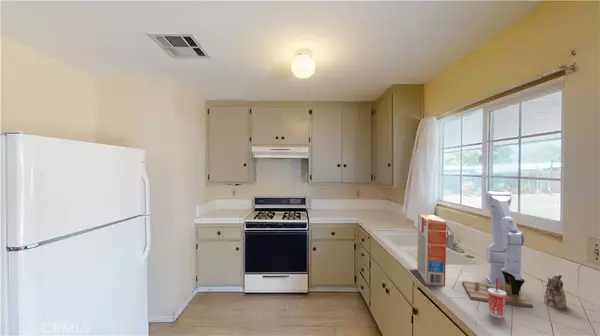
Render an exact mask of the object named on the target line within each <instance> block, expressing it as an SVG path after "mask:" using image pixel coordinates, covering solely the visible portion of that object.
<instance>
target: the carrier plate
mask: <svg viewBox="0 0 600 336" xmlns="http://www.w3.org/2000/svg"><path fill="white" fill-rule="evenodd" d="M461 282H462V285H463V287H464V290H465V291H466V293H467V294H468V296H469V298H470V299H471V301H472V300H473V301H480V302H488V303H489V297H488V291H487V289H489V288H495V289H496V285H495V284H491V283H486V282H485V283H484V282H479V281H467V280H462V281H461ZM498 289H500V290H503V291H504V285H498ZM505 305H512V306H520V307H526V308H527V307H528V308H533V307H534V304H533V303H532V302H531V301H530V300H529V298H528V297H526V296H525V295H524V294H523V293H522V292H521V295H520V296H512V295H508V294H506V296H505Z"/></svg>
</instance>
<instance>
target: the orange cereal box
mask: <svg viewBox="0 0 600 336" xmlns="http://www.w3.org/2000/svg"><path fill="white" fill-rule="evenodd" d="M446 248H447V221H445V220H444V219H442V218H441V217H439V216H437V215H435V214H419V213H418V215H417V258H416V259H417V263H416V264H417V266H416V267H417V269H416V270H417V271H418V273H419V275H420V276H421V278H422V279H423V280H424V282H425V283H426V285H429V286H431V285H432V286H443V287H445V286H446V263H447V261H446V258H447V257H446V253H447V251H446V250H447V249H446Z"/></svg>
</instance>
